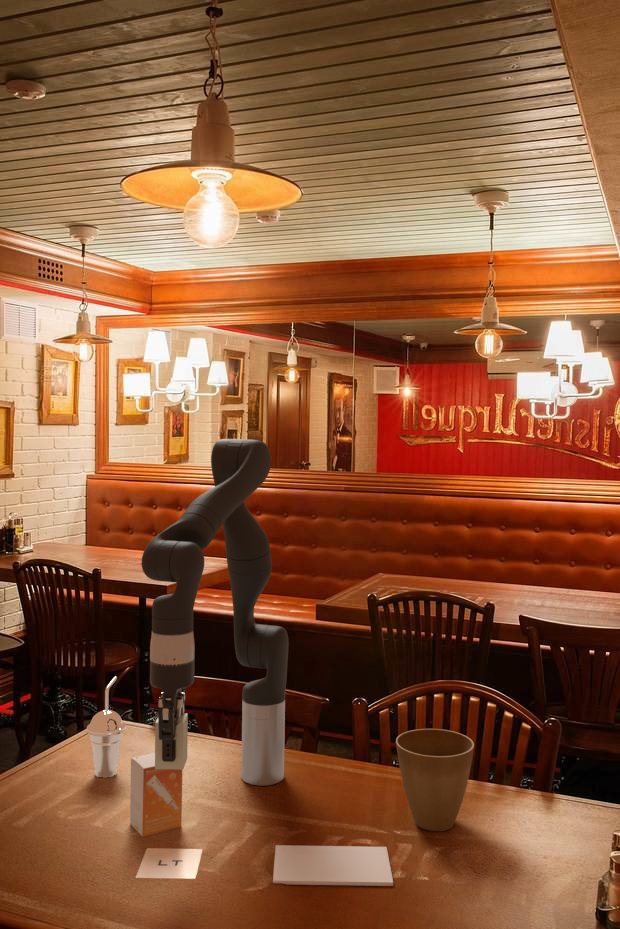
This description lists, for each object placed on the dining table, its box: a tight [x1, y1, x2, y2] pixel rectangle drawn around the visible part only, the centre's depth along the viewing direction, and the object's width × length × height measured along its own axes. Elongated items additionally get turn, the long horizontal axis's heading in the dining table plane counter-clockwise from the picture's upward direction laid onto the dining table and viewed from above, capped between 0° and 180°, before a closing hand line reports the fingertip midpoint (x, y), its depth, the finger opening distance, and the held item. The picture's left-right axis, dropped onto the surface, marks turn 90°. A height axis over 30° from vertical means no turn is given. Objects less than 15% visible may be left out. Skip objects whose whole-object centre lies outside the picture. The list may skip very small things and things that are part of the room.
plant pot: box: [395, 728, 475, 832], centre depth 163 cm, size 15×15×16 cm
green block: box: [154, 712, 189, 770], centre depth 145 cm, size 5×5×8 cm
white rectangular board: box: [272, 844, 394, 887], centre depth 146 cm, size 12×20×1 cm, turn 90°
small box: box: [129, 752, 183, 838], centre depth 160 cm, size 8×6×13 cm
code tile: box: [135, 847, 204, 880], centre depth 146 cm, size 10×10×1 cm
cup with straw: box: [85, 675, 127, 779], centre depth 184 cm, size 8×9×20 cm
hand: (171, 754), depth 146 cm, fingers closed on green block, 4 cm apart
